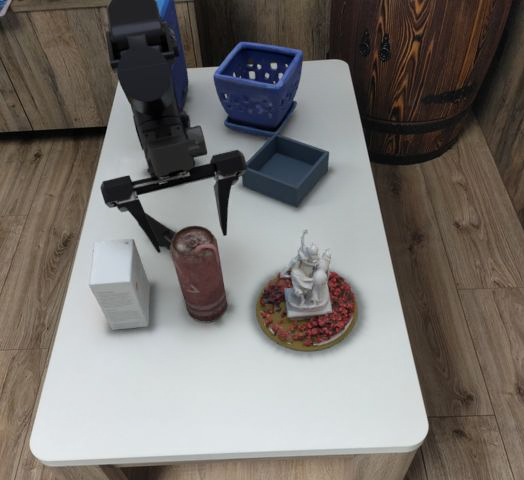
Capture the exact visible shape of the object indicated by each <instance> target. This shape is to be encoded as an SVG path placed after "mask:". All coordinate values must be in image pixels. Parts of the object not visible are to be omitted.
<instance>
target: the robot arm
mask: <svg viewBox="0 0 524 480" xmlns="http://www.w3.org/2000/svg"><path fill="white" fill-rule="evenodd" d="M106 14H107V20H108V21H107V22H108V26H109V30H105V38H106V45H107V53H108V59H109V64H110V68H111V70H112V73H113V74H117V79H118V82H119V85H120V87H121V89H122V92H123V93H124V95H125V97H126V100H127V101H128V103H129V105H130V109H131V112H132V118H133V123H134V127H135V128H134V129H135V132H136V134H137V135H136V136H137V138H138V141H139V144H140V147H141V150H142V151H143V153H144V158H145V161H146V165H147V173H149V175H150V177H146V178H142V179H138V180H132V178H131V176H130V174H129V175H128V174H127V175H123V176H120V177H115V178H111V179H106V180H103V181H102V182H101V184H100V187H99V188H100V192H101V195H102V198H103V201H104V205H106V207H108V208H109V209H111V208H116V209H117V210H119V211H120V212H121V213H126V212H129V214H130V215H131V216H132V217H133V218H134V220H135V221H136V222H137V224H138V223H139V224H140V226H141V227H142V228H141V227H140V226H139V227H140V228H141V229H142V230H143V232H144V233H145V235H146V236H147V238H148V240H149V241H150V243H151V245H152V246H153V248H154V249H155V251H156V252H157V253H158V254H160V253H161V252H162V250H161V247H160V246H159V244H158V241H157V239H156V236H155V234H154V232H153V230H152V227H151V225H150V223H149V221H148V218H147V216H146V214H147V213H146V212H145V210H144V208H143V205H142V202H141V201H140V199H139V197H138V196H141V195H146V194H150V193H154V192H158V191H162V190H163V191H164V190H167V189H170V188H175V187H179V186H183V185H187V184H192V183H196V182H199V181H204V180H208V179H212V178H213V179H214V181H215V183H214V185H213V192H214V198H215V204H216V209H217V216H218V222H219V227H220V230H221V233H222V236H223V237H227V235H228V219H229V218H228V217H229V216H228V215H229V201H230V195H231V189H232V186H234V185H236V184H237V182H239V180H240V177H242V175H243V174H244V173H245V172H246V171H247V166H246V162H247V161H246V158H245V155H244V153H243V152H241V151H240V150H239V149H235V150H230V151H225V152H222V153H218V154H213V155H212V156H211V159H210V161H209V163H205V164H201V165H196V160H195V158H200V157H203V156H207V155H208V149H207V144H206V140H205V136H204V133H203V129H202V126H201V125H195V126H191V121H190V120H191V119H190V116H189V114H188V113H186V111H185V110H184V108H183V107H179V106H178V101H177V97H176V95H175V94H174V91H173V83H172V76H171V70H170V66H169V64H174V63H176V61H175V57H179V52H178V46H177V42H176V39H175V35H174V32H173V31H172V30H171V29H170V27H169V24H167V22H161V18H160V14H159V9H158V5H157V2H156V0H110V1H109V3H108V5H107V7H106ZM195 165H196V166H195ZM185 174H188V175H185ZM184 175H185V176H184ZM145 213H146V214H145ZM139 224H138V225H139Z"/></svg>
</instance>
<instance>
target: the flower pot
mask: <svg viewBox="0 0 524 480" xmlns="http://www.w3.org/2000/svg"><path fill="white" fill-rule="evenodd" d="M249 60H250V61H251V62H252V65H250V64H248V61H249ZM303 62H304V52H303V50H301V49H295V48H290V47H284V46H278V45H272V44H265V43H264V44H263V43H260V42H259V43H258V42H250V41H240V42H238V44H236V46H234V47H233V49H232V50H231V51H230V52H229V53H228V55H227V56H226V57H225V59H224V60H223V61H222V63H221V64H220V65H219V66H218V67H217V69H216V70H215V71H214V73H213V82H214V87H215V90H216V91H215V92H216V94H217V97H218V100H219V102H220V105H221V107H222V108H223V110H224V112H225V113H226V115H227V116H226V118H225V120H224V121H223V125H224V127H226V129H229V130H231V131H235V132H239V133H243V134H248V135H253V136H256V137H261V138H266V139H270V138H271V137H272V136H273V135H274V134H275V133H276V134H279V135H280V133H281V131H282V130H283V128H284V127H285V125H286V124H287V122H288V120H290V118H291V116H292V114H293V113H294V111H295V110H296V108H297V105H298V101H297V100H294V99H295V97H296V94H297V92H298V89H299V86H300V81H301V76H302V70H303ZM272 63H276V68H272V65H271V64H272ZM258 65H259V66H260V68H258ZM250 72H254V78H251V77H250ZM266 74H268V77H267V76H266ZM279 74H282V76H281V77H280V75H279Z"/></svg>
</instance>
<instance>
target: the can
mask: <svg viewBox="0 0 524 480" xmlns="http://www.w3.org/2000/svg"><path fill="white" fill-rule="evenodd" d="M175 233H176V234H175V235H174V236H173V239H172V243H171V245H170V250H169V252H170V256H171V258H172V262H173V265H174V269H175V273H176V276H177V281H178V282H179V283H178V284H179V287H180V291H181V294H182V298H183V302H184V305H185V307H186V308H185V309H186V311H187V313H188V315H189V316H190V317H191V318H192V319H193V320H196V321H198V322H202V323H209V322H214V321H216V320H218V319H219V318H221V317H222V316H223V315H224V313H226V311H227V307H228V301H227V300H228V299H227V294H226V287H225V281H224V275H223V269H222V263H221V256H220V251H219V245H218V240H217V238H216V236H215V235H214V234H213V232H212V231H211V230H210V229H208V228H207V227H204V226H201V225H190V226H186V227H183V228H181V229H179V230H178V231H176V232H175Z"/></svg>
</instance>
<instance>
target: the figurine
mask: <svg viewBox="0 0 524 480" xmlns="http://www.w3.org/2000/svg"><path fill="white" fill-rule="evenodd" d="M308 230H309V228H307V229H305V228H304V229H303V231H302V236H301V237H300V239H301V240H300V246H299V247H298V249H297V255H295V256H294V257H292V258H291V259H290V261H289V262H288V265H287V267H285V269H284V270H282V272H281V271H279V273H276V275H277V276H276V277H274V278H272V279H270V281H268V283H267V284H266V285H265V286H264V287H263V288H262V289H261V291H260V293H259V295H258V297H257V299H256V304H255V313H256V314H255V315H256V320H257V322H258V325H259V326H260V328H261V330H262V332H263V333H264V334H265V335H266V336H267V337H268V338H269V339H270V340H271V341H273V342H275V343H276V344H278V345H279V346H282V347H285V348H287V349H290V350H294V351H298V352H300V351H301V352H315V351H316V352H317V351H321V350H326V349H329V348H331V347H333V346H336V345H337V344H338V343H340V342H342V341H343V340H345V339H346V337H348V335H350V333H351V332H352V330H353V329H354V327H355V325H356V322H357V320H358V319H357V318H358V313H359V311H358V308H359V307H358V302H357V299H356V294H355V293H354V292H353V291H352V290H351V288H352V287H351V285H350V282H348V283H347V282H346V279H345V278H344V277H342V276H341V275H339V274H338V272H336V271H330V264H331V261H332V252H331V251H330V248H326V249H325V252H323V253H322V255H321V254H320V252H319V251H320V250H319V246H318V245H317V243H316V242H314V241H313V242H312V243H311V244H310V245H309V247H308V246H306V245H305V244H306V243H305V235H307V234H309V231H308Z"/></svg>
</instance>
